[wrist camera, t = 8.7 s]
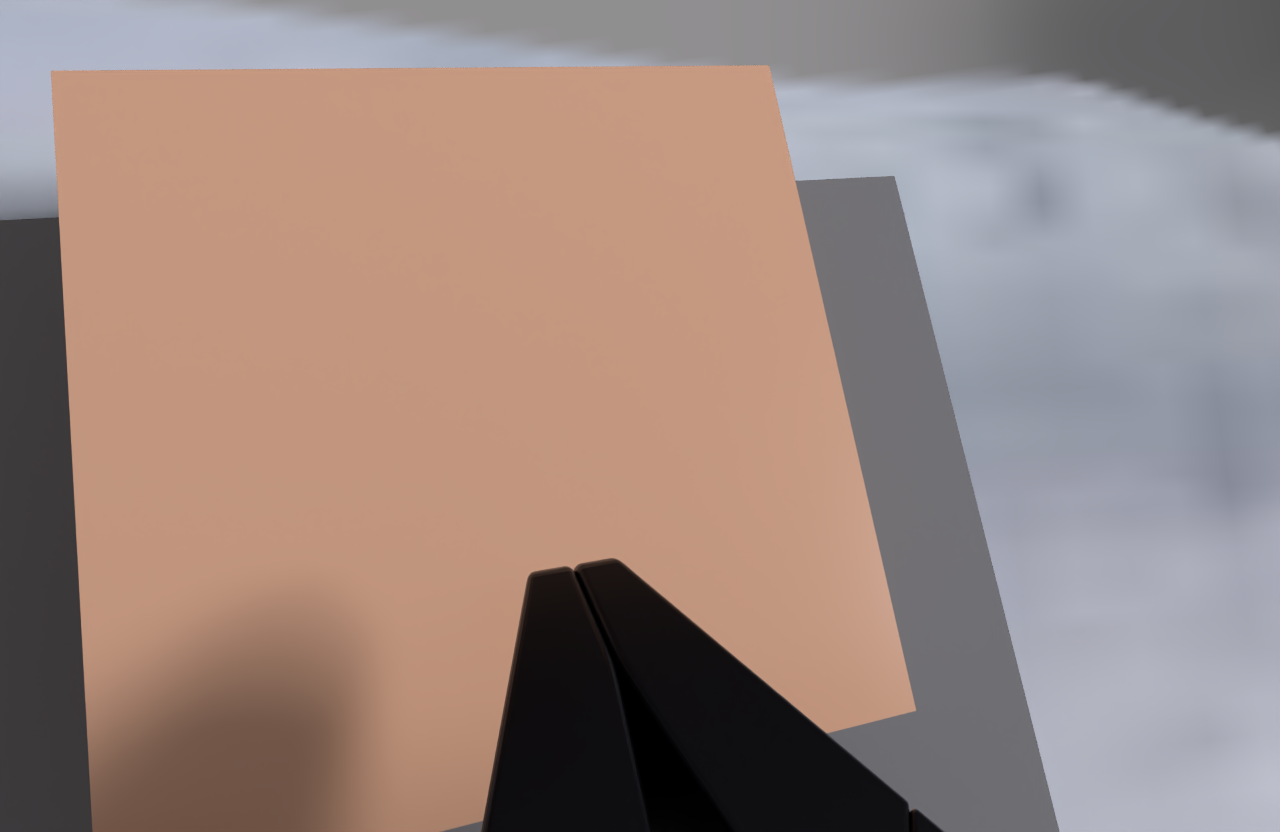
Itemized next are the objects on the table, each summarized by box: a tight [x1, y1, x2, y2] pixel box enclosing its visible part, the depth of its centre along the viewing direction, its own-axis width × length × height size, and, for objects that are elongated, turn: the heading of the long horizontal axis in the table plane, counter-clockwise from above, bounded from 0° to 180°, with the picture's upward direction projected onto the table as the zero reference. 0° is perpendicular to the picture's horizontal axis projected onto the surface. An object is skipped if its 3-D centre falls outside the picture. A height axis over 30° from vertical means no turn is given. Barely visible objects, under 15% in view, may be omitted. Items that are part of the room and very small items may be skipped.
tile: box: [51, 65, 916, 832], centre depth 12 cm, size 10×3×10 cm
